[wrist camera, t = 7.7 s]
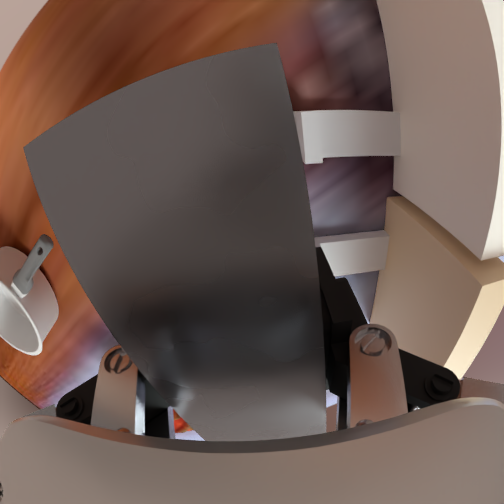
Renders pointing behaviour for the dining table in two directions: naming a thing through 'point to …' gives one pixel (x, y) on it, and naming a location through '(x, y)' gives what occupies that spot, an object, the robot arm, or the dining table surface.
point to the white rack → (430, 178)
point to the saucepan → (26, 297)
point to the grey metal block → (198, 240)
